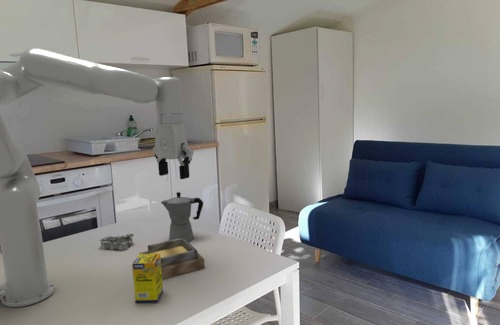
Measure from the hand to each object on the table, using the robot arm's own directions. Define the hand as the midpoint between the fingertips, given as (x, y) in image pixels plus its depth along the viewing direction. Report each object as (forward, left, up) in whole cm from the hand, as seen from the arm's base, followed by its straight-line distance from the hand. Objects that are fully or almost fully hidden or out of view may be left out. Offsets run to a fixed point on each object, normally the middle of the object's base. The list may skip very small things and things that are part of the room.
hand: (174, 176), depth 113 cm
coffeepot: (+9, +20, -29) cm, 36 cm away
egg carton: (-14, +27, -29) cm, 42 cm away
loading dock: (-2, +1, -28) cm, 29 cm away
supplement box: (-13, -15, -29) cm, 35 cm away
